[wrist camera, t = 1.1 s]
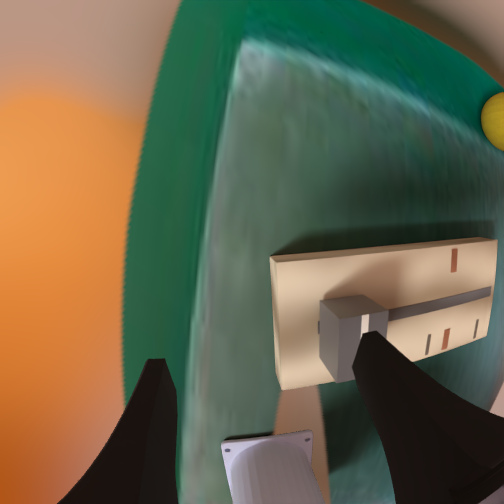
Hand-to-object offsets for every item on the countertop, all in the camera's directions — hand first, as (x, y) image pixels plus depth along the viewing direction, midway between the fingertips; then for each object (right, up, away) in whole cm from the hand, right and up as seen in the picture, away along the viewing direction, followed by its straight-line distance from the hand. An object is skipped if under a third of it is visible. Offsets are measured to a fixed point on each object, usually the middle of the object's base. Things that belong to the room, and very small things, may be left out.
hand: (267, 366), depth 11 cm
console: (+11, 0, +12) cm, 16 cm away
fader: (+5, -1, +8) cm, 10 cm away
